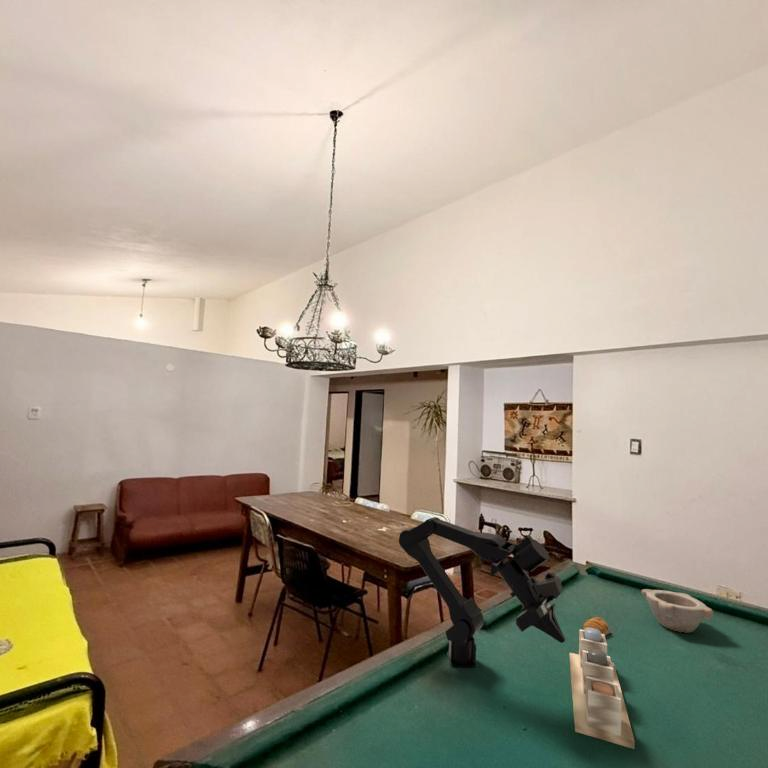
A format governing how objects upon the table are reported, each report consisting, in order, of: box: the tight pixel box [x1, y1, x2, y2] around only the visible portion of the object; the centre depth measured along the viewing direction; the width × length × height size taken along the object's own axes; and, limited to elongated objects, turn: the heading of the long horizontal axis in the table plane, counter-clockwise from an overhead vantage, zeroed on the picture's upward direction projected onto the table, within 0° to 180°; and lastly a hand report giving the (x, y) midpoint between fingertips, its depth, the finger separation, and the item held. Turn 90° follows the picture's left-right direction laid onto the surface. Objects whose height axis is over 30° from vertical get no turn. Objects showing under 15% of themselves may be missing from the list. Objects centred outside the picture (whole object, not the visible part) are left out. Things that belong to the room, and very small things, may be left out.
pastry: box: [582, 617, 611, 637], centre depth 134 cm, size 9×7×4 cm
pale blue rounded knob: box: [585, 627, 601, 642], centre depth 114 cm, size 4×4×4 cm
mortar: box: [641, 588, 714, 634], centre depth 142 cm, size 17×17×9 cm
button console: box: [569, 629, 636, 750], centre depth 103 cm, size 11×31×8 cm, turn 158°
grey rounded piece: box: [588, 649, 608, 666], centre depth 103 cm, size 4×4×4 cm
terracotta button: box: [593, 682, 613, 696], centre depth 92 cm, size 4×4×4 cm
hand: (563, 641), depth 101 cm, fingers closed
